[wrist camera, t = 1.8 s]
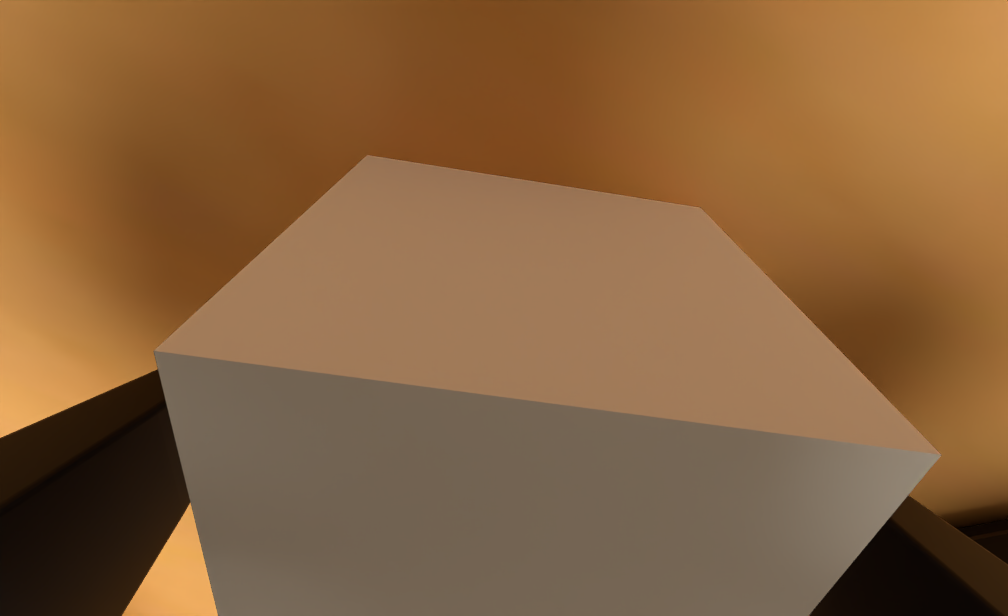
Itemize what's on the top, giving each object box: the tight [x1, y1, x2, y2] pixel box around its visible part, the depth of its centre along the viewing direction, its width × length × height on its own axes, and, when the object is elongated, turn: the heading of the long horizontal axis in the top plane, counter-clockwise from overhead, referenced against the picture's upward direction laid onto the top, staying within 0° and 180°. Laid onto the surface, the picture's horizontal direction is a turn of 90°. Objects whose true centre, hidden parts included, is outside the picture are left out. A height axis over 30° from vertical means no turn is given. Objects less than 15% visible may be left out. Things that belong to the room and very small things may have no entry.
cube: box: [154, 155, 941, 616], centre depth 8 cm, size 6×6×6 cm
